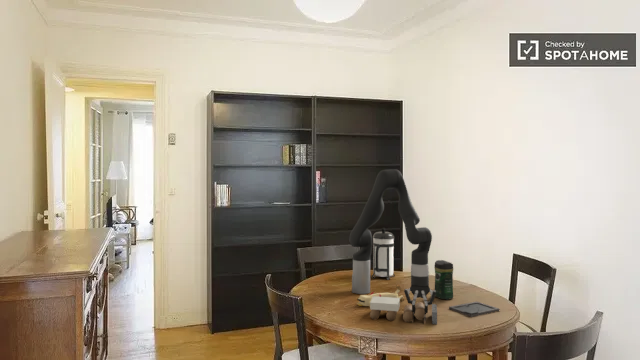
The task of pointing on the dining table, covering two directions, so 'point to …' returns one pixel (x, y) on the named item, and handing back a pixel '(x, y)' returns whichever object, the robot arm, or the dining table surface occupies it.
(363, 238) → the robot arm
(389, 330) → the dining table surface
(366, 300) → the cat figure
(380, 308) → the slab
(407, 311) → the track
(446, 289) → the coffee jar
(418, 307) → the roller
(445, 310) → the dining table surface
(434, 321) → the block
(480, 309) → the picture frame
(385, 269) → the coffee press
